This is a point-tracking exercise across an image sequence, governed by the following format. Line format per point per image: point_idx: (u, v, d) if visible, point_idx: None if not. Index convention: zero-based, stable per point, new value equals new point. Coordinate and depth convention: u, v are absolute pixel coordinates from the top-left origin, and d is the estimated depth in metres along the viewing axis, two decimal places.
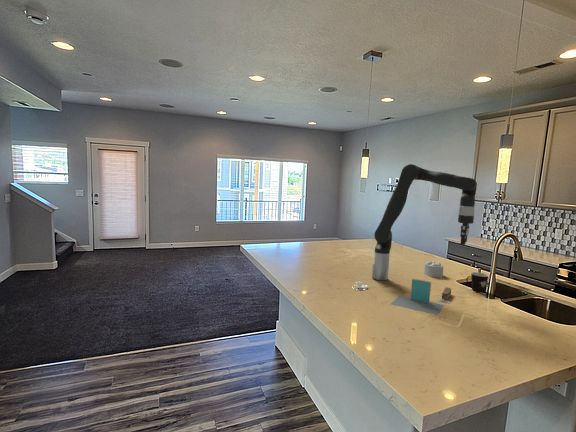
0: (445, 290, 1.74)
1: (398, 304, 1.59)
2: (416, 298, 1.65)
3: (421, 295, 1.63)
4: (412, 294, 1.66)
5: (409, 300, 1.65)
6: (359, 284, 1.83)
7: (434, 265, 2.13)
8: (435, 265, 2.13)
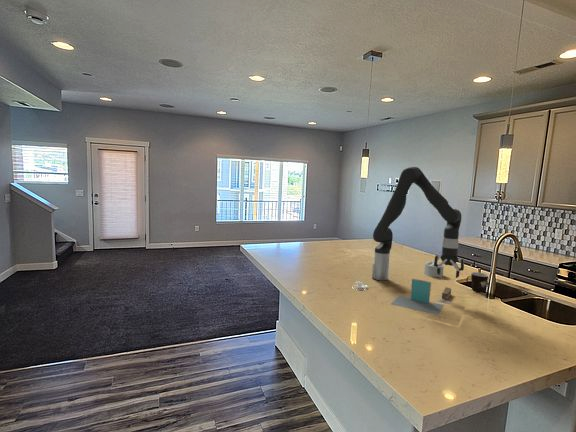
0: (445, 290, 1.74)
1: (398, 304, 1.59)
2: (416, 298, 1.65)
3: (421, 295, 1.63)
4: (412, 294, 1.66)
5: (409, 300, 1.65)
6: (359, 284, 1.83)
7: None
8: None
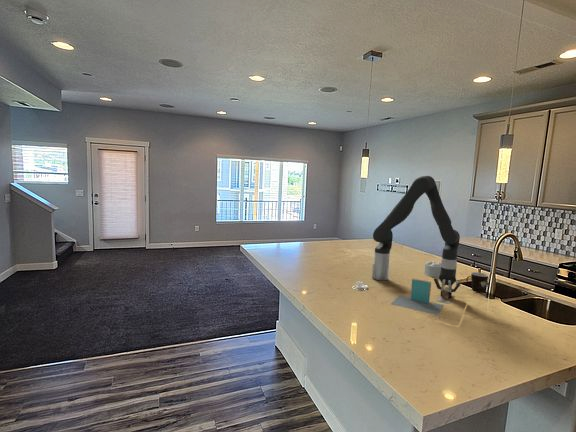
0: (445, 290, 1.74)
1: (398, 304, 1.59)
2: (416, 298, 1.65)
3: (421, 295, 1.63)
4: (412, 294, 1.66)
5: (409, 300, 1.65)
6: (359, 284, 1.83)
7: (434, 265, 2.13)
8: (435, 265, 2.13)
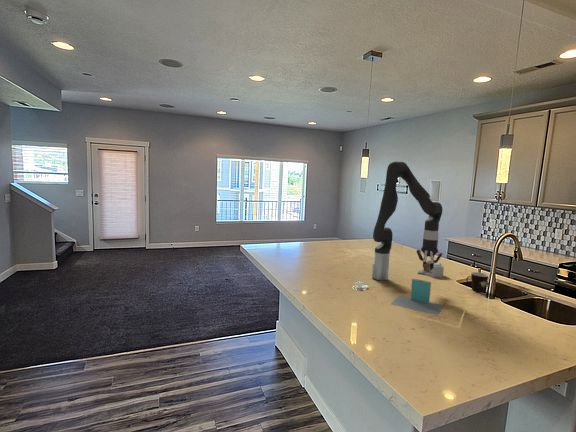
0: (427, 262, 1.77)
1: (398, 304, 1.59)
2: (416, 298, 1.65)
3: (421, 295, 1.63)
4: (412, 294, 1.66)
5: (409, 300, 1.65)
6: (359, 284, 1.83)
7: (434, 265, 2.13)
8: (435, 265, 2.13)
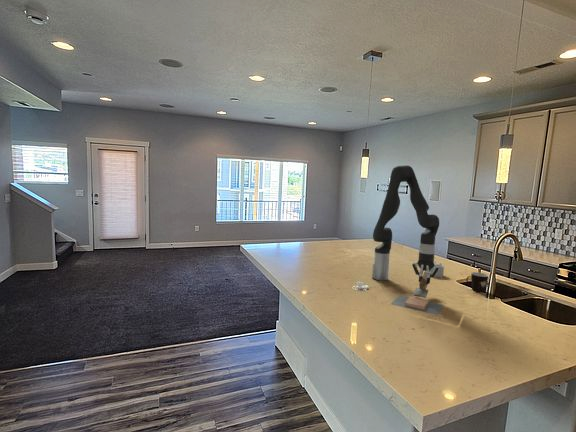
0: (423, 278, 1.71)
1: (398, 304, 1.59)
2: None
3: None
4: None
5: None
6: (360, 284, 1.83)
7: None
8: (435, 265, 2.13)
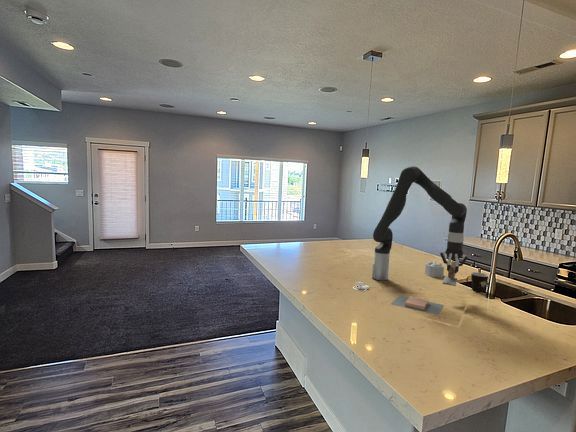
0: (451, 266, 1.71)
1: (398, 304, 1.59)
2: None
3: None
4: None
5: None
6: (360, 284, 1.83)
7: (435, 265, 2.13)
8: (436, 265, 2.13)
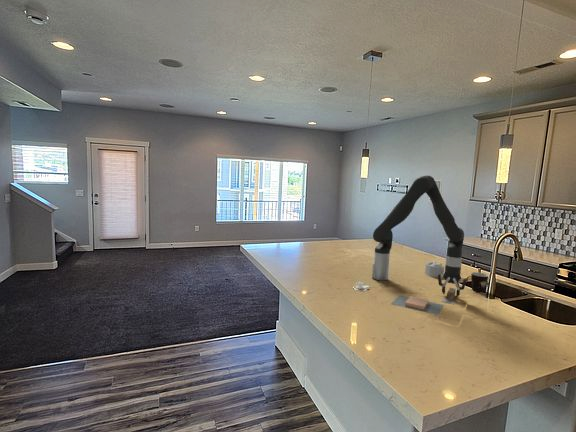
0: (449, 290, 1.73)
1: (398, 304, 1.59)
2: None
3: None
4: None
5: None
6: (360, 285, 1.83)
7: (435, 265, 2.12)
8: (436, 265, 2.13)
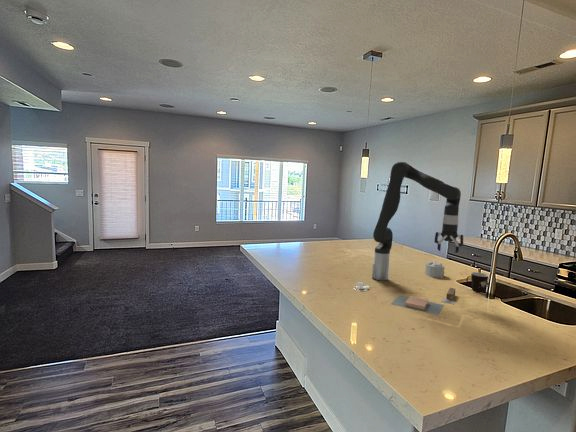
0: (449, 290, 1.73)
1: (398, 304, 1.59)
2: None
3: None
4: None
5: None
6: (360, 285, 1.82)
7: (435, 265, 2.12)
8: (436, 265, 2.12)
